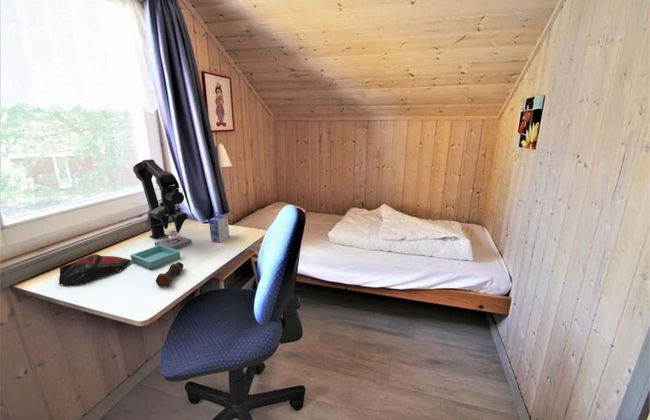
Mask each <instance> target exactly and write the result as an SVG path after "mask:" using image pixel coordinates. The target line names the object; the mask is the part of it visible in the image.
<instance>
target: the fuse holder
mask: <svg viewBox="0 0 650 420" xmlns="http://www.w3.org/2000/svg"><path fill="white" fill-rule="evenodd" d="M192 244H193V239H190V238H188V237H185V236H184V237H183V236H181V235H178V234H177V242H176V243H173V244H171V243H169V237H167V238H166V237H165V238H163V239H159V240H158V241H155V242H154V247H155V246H158V245H163V246H166V247H169V248H172V249H175V250H179V249H182V248H184V247H187V246H189V245H192Z"/></svg>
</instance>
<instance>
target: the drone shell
mask: <svg viewBox="0 0 650 420" xmlns="http://www.w3.org/2000/svg"><path fill="white" fill-rule="evenodd" d="M130 263H132V262H131V258H130V259H129V258H125V257H122V256H121V257H120V256H114V255H113V256H112V255H101V254H97V253H94V254H89V255H87V256H84V257H81V258H80V259H78V260H76V261H73V262H71V263H68V264H65V265H60V266H59V277H58V283H59V285H60V284H62V285H61V286H64V287H73V286H75V285H76V286H80V285H82V284H83V285H85V284H88V283H91V282H94V281H97V280H100V279H103V278H105V277H109V276H111V275H114V274H116V273H119V272H121V271H122V270H123V269H124V268H125V267H127V266H129V264H130Z"/></svg>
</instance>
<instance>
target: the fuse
mask: <svg viewBox="0 0 650 420" xmlns="http://www.w3.org/2000/svg"><path fill="white" fill-rule="evenodd" d="M177 235H178V233H177V231H176V230H170V231H168V232H167V236H168V238H169V243H171V244H173V243H176V242H177Z"/></svg>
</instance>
